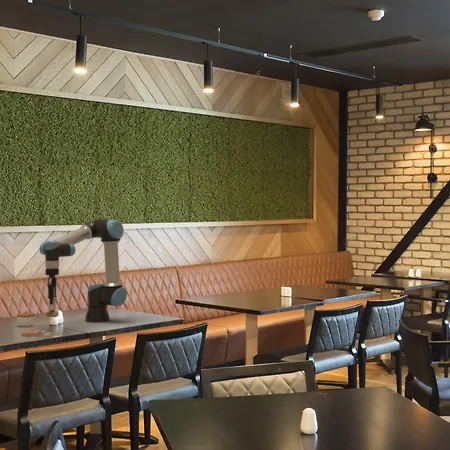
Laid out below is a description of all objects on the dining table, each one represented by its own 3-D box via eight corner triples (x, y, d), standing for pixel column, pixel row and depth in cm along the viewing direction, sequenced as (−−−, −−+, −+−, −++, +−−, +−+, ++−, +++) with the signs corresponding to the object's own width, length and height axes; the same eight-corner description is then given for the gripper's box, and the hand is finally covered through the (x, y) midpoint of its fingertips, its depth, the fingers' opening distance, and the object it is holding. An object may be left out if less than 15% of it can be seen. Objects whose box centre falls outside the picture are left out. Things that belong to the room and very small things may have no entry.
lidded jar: (18, 325, 446) (18, 310, 445) (36, 325, 446) (36, 309, 446) (15, 328, 435) (14, 312, 435) (33, 328, 436) (33, 312, 435)
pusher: (58, 315, 417) (58, 286, 417) (56, 317, 411) (56, 287, 411) (47, 315, 417) (47, 286, 416) (45, 317, 411) (45, 287, 410)
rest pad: (62, 333, 419) (62, 332, 419) (59, 336, 410) (59, 335, 410) (46, 333, 419) (46, 332, 419) (42, 336, 410) (42, 335, 410)
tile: (41, 329, 417) (37, 333, 406) (41, 332, 418) (37, 336, 407) (25, 329, 417) (20, 333, 406) (25, 333, 417) (20, 336, 406)
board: (46, 331, 423) (46, 331, 423) (39, 337, 405) (39, 336, 405) (25, 332, 423) (25, 331, 423) (17, 337, 405) (17, 337, 405)
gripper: (48, 266, 421) (48, 307, 422) (42, 269, 405) (42, 311, 406) (61, 266, 421) (61, 307, 422) (56, 269, 405) (56, 311, 406)
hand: (52, 309), depth 414 cm, fingers closed on pusher, 3 cm apart
